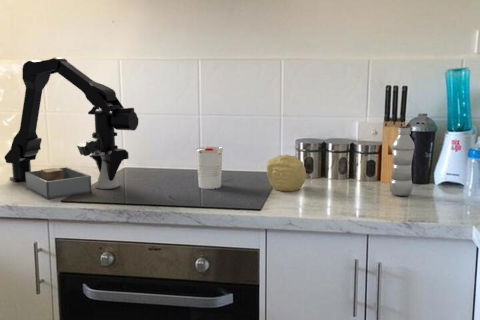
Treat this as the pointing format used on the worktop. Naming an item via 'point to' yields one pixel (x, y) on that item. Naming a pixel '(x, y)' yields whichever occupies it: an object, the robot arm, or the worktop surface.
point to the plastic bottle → (402, 162)
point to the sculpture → (286, 173)
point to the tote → (59, 184)
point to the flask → (106, 178)
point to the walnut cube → (52, 174)
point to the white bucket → (209, 167)
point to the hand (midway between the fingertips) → (107, 179)
